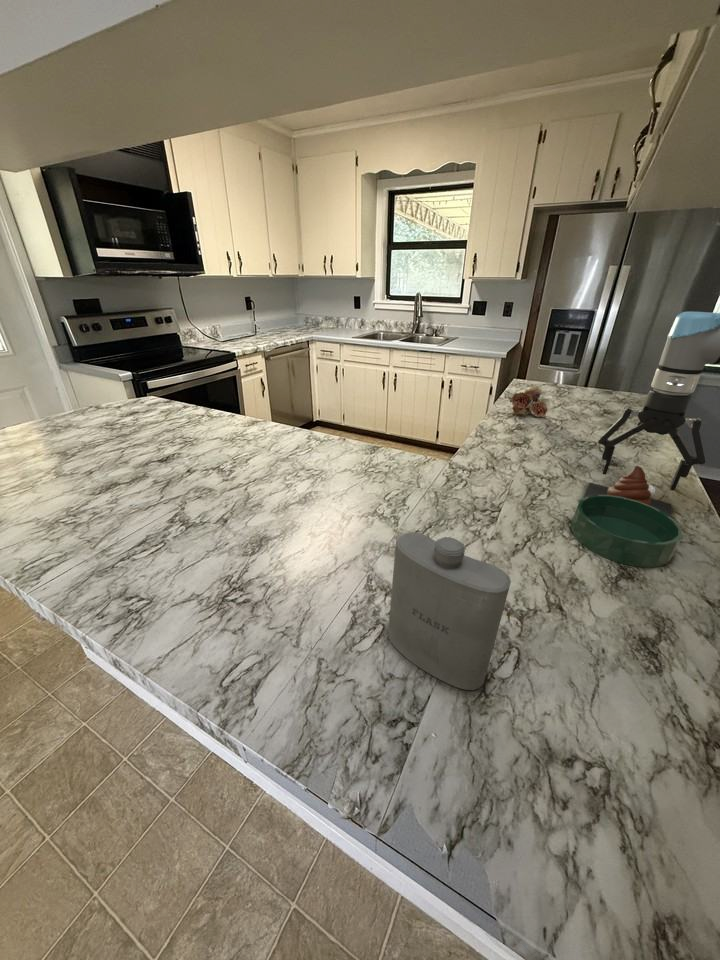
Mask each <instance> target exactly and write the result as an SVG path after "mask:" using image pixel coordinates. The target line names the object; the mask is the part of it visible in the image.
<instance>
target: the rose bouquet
mask: <svg viewBox="0 0 720 960" xmlns="http://www.w3.org/2000/svg"><path fill="white" fill-rule="evenodd" d="M541 395H542V390H541V388H539V387H537V386H532V387H530V388H528V389H525V391H524V392H522V391H521V392H518V393H514V394H513V395H512V396H511V397H509V398H508V400H509V402H510V403H511V404H512V408H511V409H512V411H513V414H514V415H519V416H520V415H525V414H526V413H529V414H531V415H533V416H534V417H537V418H539V417H540V418H541V417H543V418H546V416H547V413H548V406H547V403H546V402H544V401H543V400H541V399H540V397H541Z"/></svg>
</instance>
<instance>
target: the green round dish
mask: <svg viewBox="0 0 720 960" xmlns="http://www.w3.org/2000/svg"><path fill="white" fill-rule="evenodd" d="M583 497H584V496H583ZM583 497H582V498H581V499H579V500H578V503H577V505H576V508H575V512H574V515H573V517H572V520H571V524H570V531H571V533H572V535H573V537H574V538H575V539H576V540H577V541H578V543H580V544H581V545H582V546H583V547H584V548H586V549H588V550H589V551H591V552H592V553H594V554H596V555H598V556H600V557H603V558H604V559H606V560H609V561H612V562H615V563H618V564H621V565H626V566H630V567H635V568H636V567H637V568H646V569H647V568H658V567H662V566H665V565H667V564H668V563H669V562H670V561H671V559H673V557H674V555H675V553H676V551H677V550H678V547H679V545H680V543H681V541H682V539H683V537H684V535H683V528H682V527H681V526H680V525H679V523H678V522H677V520H675V519H674V518H672V516H671V517H670V516H668V515H667V514H666V513H664V512H662V511H660V510H658V509H656V508H654V507H652V506H650V505H647V504H645V503H642V502H639V501H636V500H632V499H629V498H625V497H620V496H613V495H592V496H586V497H584V498H583Z"/></svg>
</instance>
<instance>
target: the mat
mask: <svg viewBox="0 0 720 960" xmlns="http://www.w3.org/2000/svg"><path fill="white" fill-rule="evenodd" d="M609 488H610V486H609V487H608V486H606V485H605V486H604V485H600V484H597V483H594V482H589V483H588V485H587V487H586V490H585V493H584V495H583V497H582V499H583V498H584V497H586V496H592V495H607V490H608V489H609ZM650 500H651V505H650V506H652V507H654V508H656V509H658V510H660V511H662V512H664V513H666V514H667V515H668V516H670V517H671V518H672V503H669V502H665V501H661V500H658V499H653V498H650Z"/></svg>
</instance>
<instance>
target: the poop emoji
mask: <svg viewBox="0 0 720 960" xmlns="http://www.w3.org/2000/svg"><path fill="white" fill-rule="evenodd" d="M656 491H657V490H656V487H655V486H654V485H652V484H649V483H648V480H647V479H646V474H645V471H644V469H643V468H642V467H641V466H639V465H635V466H634V468H633V469H632V470H631V471H630V472H629V473H628V474H623V475H622V477H620V479H619V480H616V481H615V482H614V484H612V485H611V486H609V489H608V490H607V495H613V496H620V497H625V498H629V499H632V500H636V501H639V502H642V503H645V504H647V505H651V500H650V499H651V497H652V496H654V495H655V494H656Z"/></svg>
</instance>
